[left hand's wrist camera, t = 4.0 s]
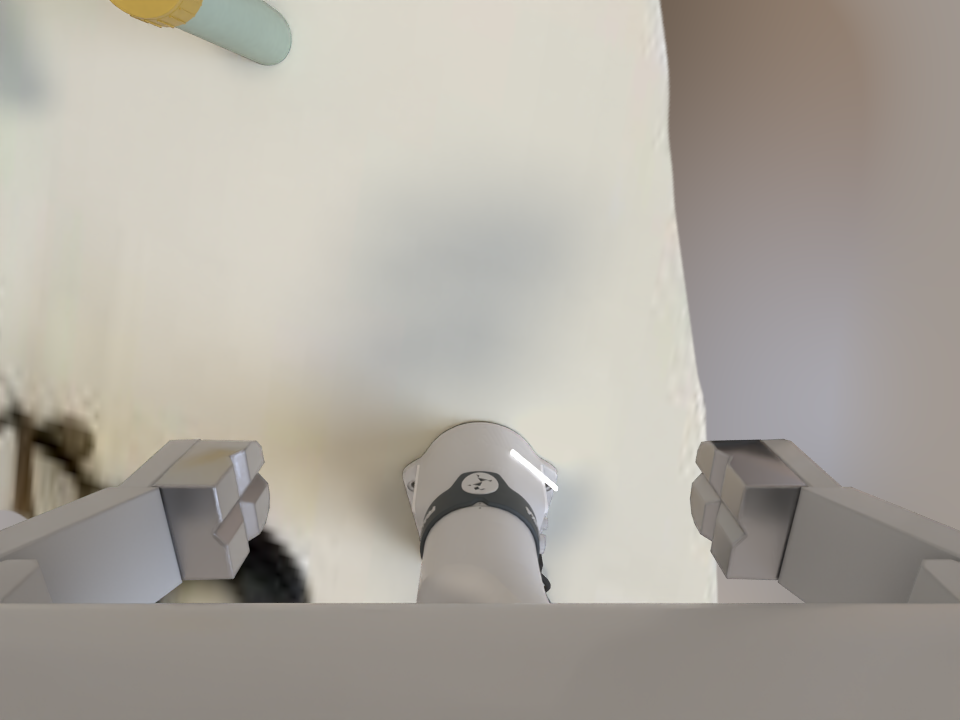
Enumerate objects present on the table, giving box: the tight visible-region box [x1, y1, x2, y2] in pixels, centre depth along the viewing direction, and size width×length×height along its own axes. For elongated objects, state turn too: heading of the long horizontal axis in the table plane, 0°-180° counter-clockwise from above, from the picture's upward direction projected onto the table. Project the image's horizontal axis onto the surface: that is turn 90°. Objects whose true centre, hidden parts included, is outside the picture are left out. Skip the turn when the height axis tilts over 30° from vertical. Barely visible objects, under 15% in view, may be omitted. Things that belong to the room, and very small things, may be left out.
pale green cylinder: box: [176, 0, 291, 65], centre depth 40 cm, size 5×5×19 cm
